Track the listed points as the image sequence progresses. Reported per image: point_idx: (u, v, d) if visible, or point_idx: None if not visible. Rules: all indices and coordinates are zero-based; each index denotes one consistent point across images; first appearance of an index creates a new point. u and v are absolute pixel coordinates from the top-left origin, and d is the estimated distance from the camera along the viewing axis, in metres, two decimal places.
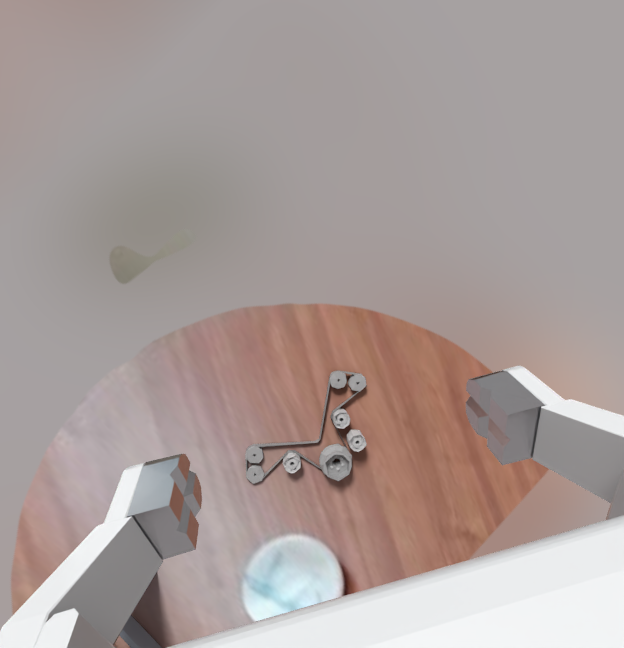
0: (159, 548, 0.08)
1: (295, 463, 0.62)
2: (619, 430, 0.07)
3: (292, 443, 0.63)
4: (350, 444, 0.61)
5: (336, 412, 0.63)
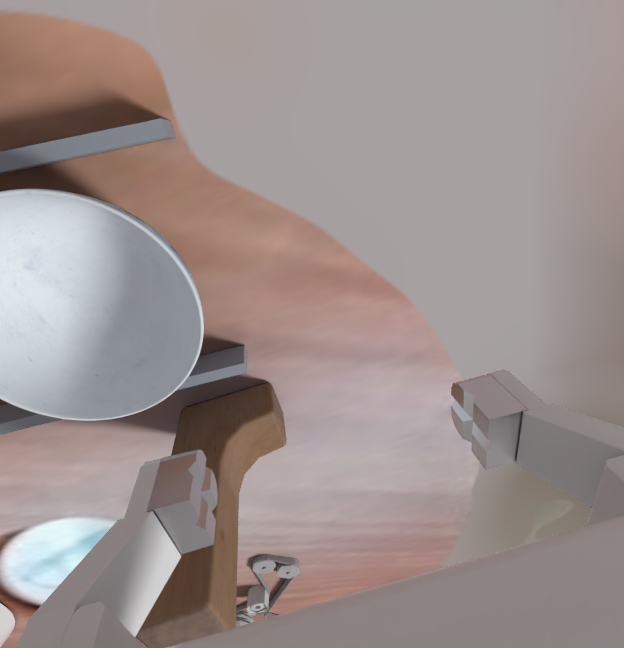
0: (178, 543, 0.09)
1: (256, 609, 0.49)
2: (599, 436, 0.07)
3: (276, 597, 0.51)
4: None
5: None
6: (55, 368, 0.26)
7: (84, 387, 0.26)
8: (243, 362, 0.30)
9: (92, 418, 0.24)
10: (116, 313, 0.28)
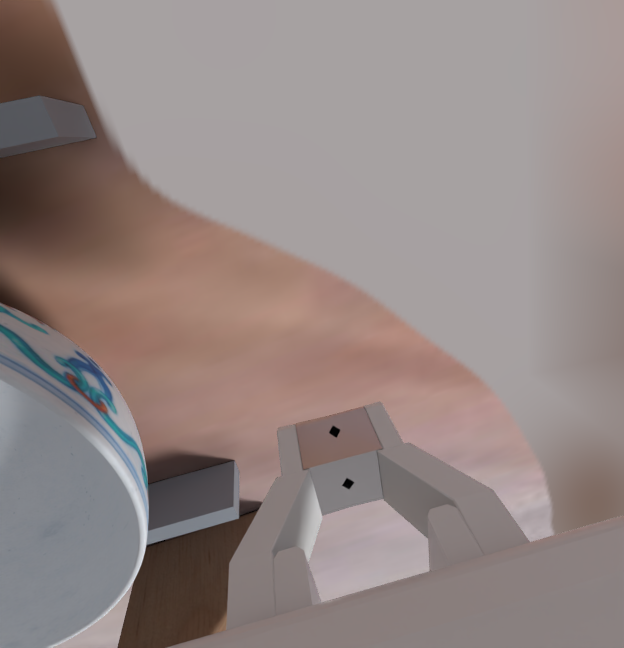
0: (322, 503, 0.09)
1: None
2: (435, 480, 0.07)
3: None
4: None
5: None
6: None
7: None
8: (232, 504, 0.18)
9: None
10: (11, 441, 0.16)
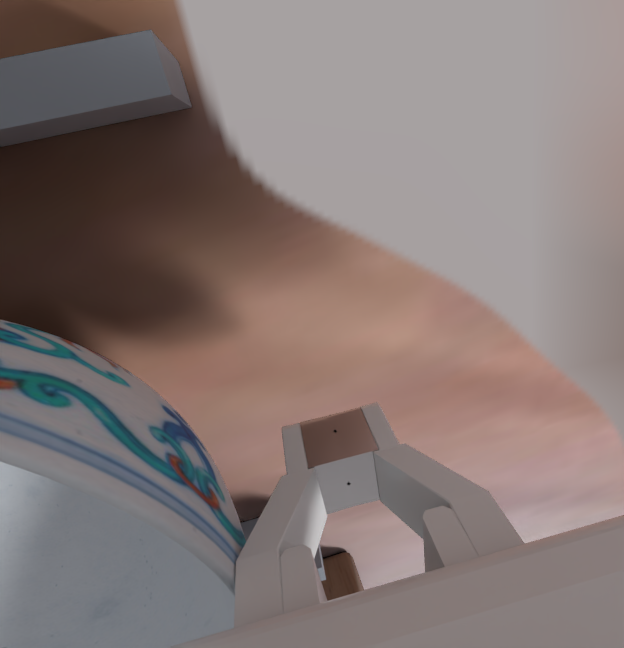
0: (327, 502, 0.09)
1: None
2: (430, 481, 0.07)
3: None
4: None
5: None
6: None
7: None
8: (320, 563, 0.15)
9: None
10: (53, 496, 0.13)
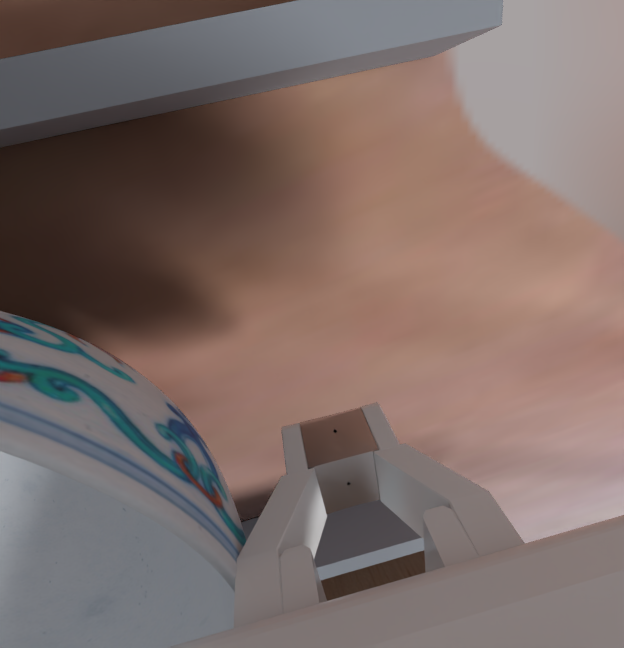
0: (327, 502, 0.09)
1: None
2: (430, 481, 0.07)
3: None
4: None
5: None
6: None
7: None
8: None
9: None
10: (49, 491, 0.13)
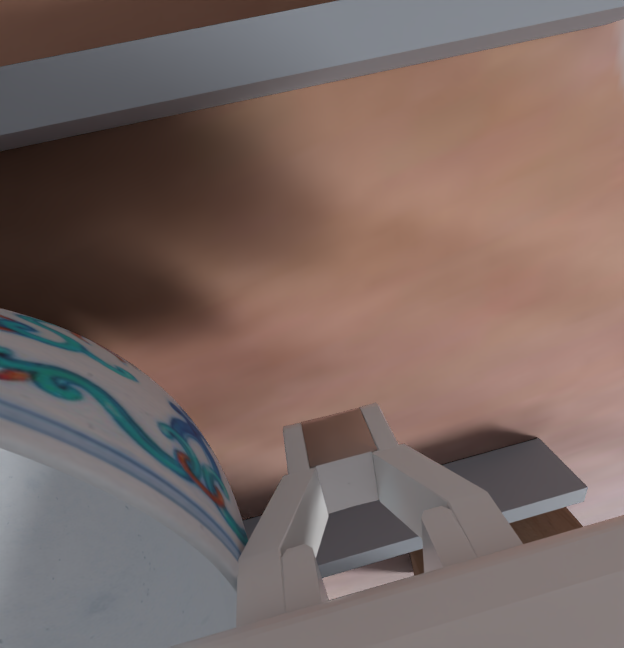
0: (328, 502, 0.09)
1: None
2: (429, 482, 0.07)
3: None
4: None
5: None
6: None
7: None
8: (582, 484, 0.16)
9: None
10: (53, 489, 0.13)
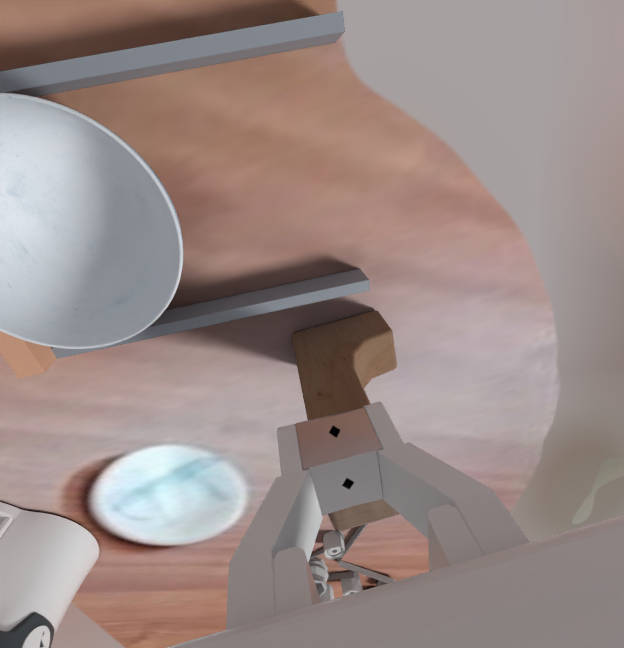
0: (322, 503, 0.09)
1: (333, 553, 0.50)
2: (435, 480, 0.07)
3: (350, 543, 0.52)
4: None
5: (360, 587, 0.56)
6: (35, 298, 0.26)
7: (63, 319, 0.26)
8: (367, 279, 0.31)
9: (68, 346, 0.25)
10: (99, 251, 0.28)
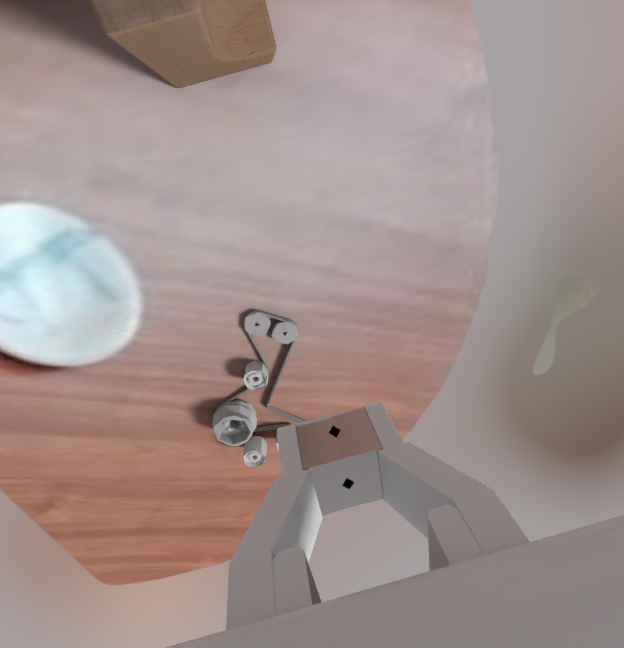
0: (322, 503, 0.09)
1: (255, 382, 0.44)
2: (435, 480, 0.07)
3: (278, 378, 0.46)
4: (255, 450, 0.47)
5: None
6: None
7: None
8: None
9: None
10: None
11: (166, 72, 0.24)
